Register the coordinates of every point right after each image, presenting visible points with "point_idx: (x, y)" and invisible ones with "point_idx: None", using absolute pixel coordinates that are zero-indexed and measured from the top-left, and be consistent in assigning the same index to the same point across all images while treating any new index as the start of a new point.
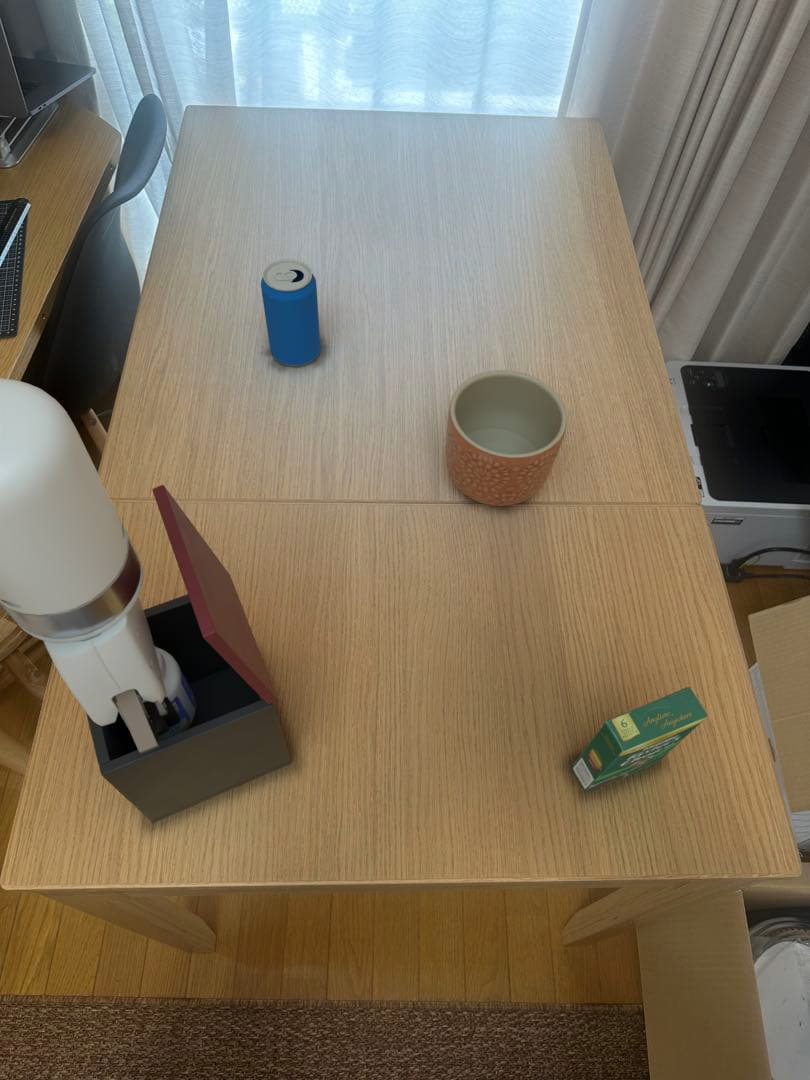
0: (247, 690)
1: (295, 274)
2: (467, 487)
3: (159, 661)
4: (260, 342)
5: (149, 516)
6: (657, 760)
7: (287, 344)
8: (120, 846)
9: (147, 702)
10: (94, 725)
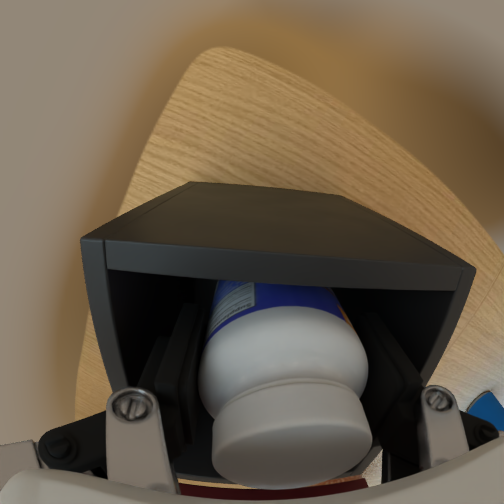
0: None
1: None
2: (323, 482)
3: (265, 488)
4: (496, 384)
5: (478, 290)
6: None
7: (484, 413)
8: (183, 142)
9: (170, 451)
10: (221, 262)
